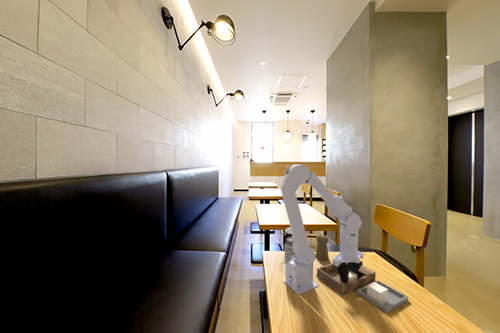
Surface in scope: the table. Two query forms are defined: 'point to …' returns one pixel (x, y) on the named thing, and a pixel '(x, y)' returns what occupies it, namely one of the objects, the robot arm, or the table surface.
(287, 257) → the french press
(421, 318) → the table surface
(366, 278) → the walnut box
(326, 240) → the cork
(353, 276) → the cube
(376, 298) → the cube
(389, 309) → the slate dish
